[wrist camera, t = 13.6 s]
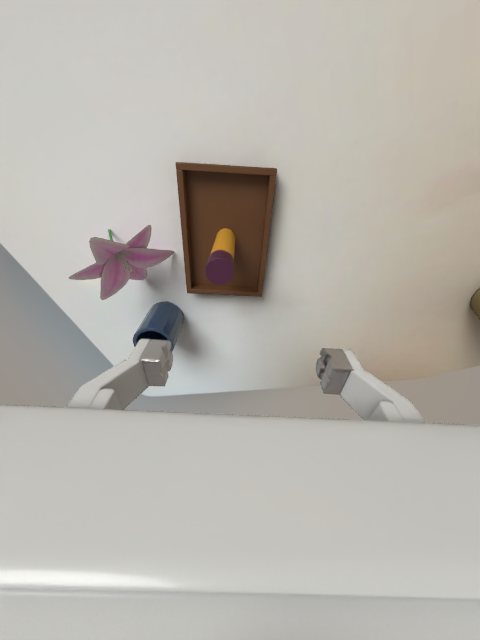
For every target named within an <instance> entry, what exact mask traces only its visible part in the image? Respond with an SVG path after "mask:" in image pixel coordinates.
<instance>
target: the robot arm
mask: <svg viewBox="0 0 480 640" xmlns="http://www.w3.org/2000/svg"><path fill="white" fill-rule="evenodd" d="M170 349H171V342H170V341H169V340H156V339H140V340H139V341H138V343H137V345H136V346H135V348H134V350H133V352H132V353H131V355H130V357H129V358H128V360H124V361H122V362H120V363H119V364H117V365H115V366H114V367H112V368H110V369H109V370H107V371H106V372H104V373H102V374H100V375H99V376H97V377H96V378H94V379H92V380H91V381H89V382H88V383H86V384H84V385H82V386H81V387H80V388H79V389H78V391H77V392H76V393H75V395H74V396H73V398H72V399H71V400H70V402H69V403H68V405H67V406H66V407H45V406H23V405H0V640H480V425H465V424H442V423H426V422H425V421H424V419H423V418H422V416H421V415H420V414H419V412H418V411H417V409H416V408H415V406H414V405H413V404H412V402H411V401H410V400H408V399H407V398H405V397H404V396H402V395H401V394H399V393H398V392H396V391H395V390H394V389H392V388H391V387H389V386H388V385H386V384H385V383H383V382H382V381H381V380H379V379H378V378H376V377H375V376H373V375H372V374H370V373H369V372H368V371H364V369H363V368H362V366H361V364H360V363H359V361H358V359H357V357H356V356H355V354H354V352H353V351H352V350H351V349H332V348H322V349H321V351H320V356H321V357H320V358H319V359H318V360H317V363H316V372H317V376H318V377H319V378H320V379H321V382H320V384H321V387H322V390H323V393H326V394H339V395H340V396H341V397H342V398H343V399H344V400H345V401H346V402H347V403H348V404H349V406H351V408H352V409H353V410H355V412H356V413H357V414H358V415H359V416H360V417H361V418H362V419H363V420H349V419H348V420H347V419H324V418H302V417H280V416H256V415H233V414H210V413H185V412H163V411H140V410H139V411H138V410H124V409H125V408H126V407H127V406H128V405H129V404H130V403H131V402H132V401H133V400H134V399H136V398H137V397H138V396H139V395H140V394H141V393H142V392H143V391H144V390H145V389H146V388H148V386H165V384H166V382H167V379H168V371H170V370H171V367H172V362H173V353H172V352H171V351H170Z"/></svg>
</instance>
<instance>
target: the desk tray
mask: <svg viewBox="0 0 480 640" xmlns="http://www.w3.org/2000/svg"><path fill="white" fill-rule="evenodd" d="M176 170H177V182H178V194H179V205H180V217H181V228H182V240H183V251H184V263H185V274H186V285H187V293H198V294H219V295H240V296H262V290H263V282H264V273H265V265H266V257H267V248H268V240H269V232H270V223H271V215H272V207H273V198H274V190H275V182H276V173H277V169H276V168H261V167H245V166H230V165H214V164H198V163H182V162H176ZM224 228H227V229H230V230H232V231H233V233H234V234H235V251H234V272H233V277H232V279H231V280H230V281H229V282H228V283H226V284H223V285H217V284H214V283H212V282H211V281H209V279H208V278H207V276H206V274H205V267H206V264H207V261H208V259H209V256H210V254H211V251H212V248H213V245H214V242H215V239H216V236H217V233H218V232H219V231H220V230H221V229H224Z"/></svg>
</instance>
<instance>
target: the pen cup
mask: <svg viewBox="0 0 480 640" xmlns="http://www.w3.org/2000/svg"><path fill="white" fill-rule="evenodd" d="M183 321H184V316H183V313H182V311H181V310H180V308H179V307H177V306H176V305H174V304H172V303H169V302H159V303H156V304H154V305H153V306H152V308H151V309H150V310H149V312H148V313H147V315H146V317H145V318H144V320H143V321H142V323H141V325H140V326H139V328H138V329H137V331H136V333H135V334H134V337H133V343H134V346H136V345H137V343H138V341H139V340H140V339H156V340H169V341H170V342H171V349H170V351H171V352H172V351H173V349H174V346H175V343H176V341H177V338H178V335H179V332H180V330H181V327H182V324H183Z"/></svg>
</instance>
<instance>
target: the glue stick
mask: <svg viewBox="0 0 480 640" xmlns="http://www.w3.org/2000/svg"><path fill="white" fill-rule="evenodd" d="M234 251H235V234H234V233H233V231H232V230H230V229H227V228H224V229H221V230H220V231H219V232H218V233H217V236H216V239H215V242H214V245H213V248H212V251H211V254H210V256H209V259H208V261H207V264H206V267H205V274H206V276H207V278H208V279H209V281H211V282H212V283H214V284H217V285H223V284H226V283H228V282H229V281H230V280H231V279H232V277H233V272H234Z"/></svg>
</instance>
